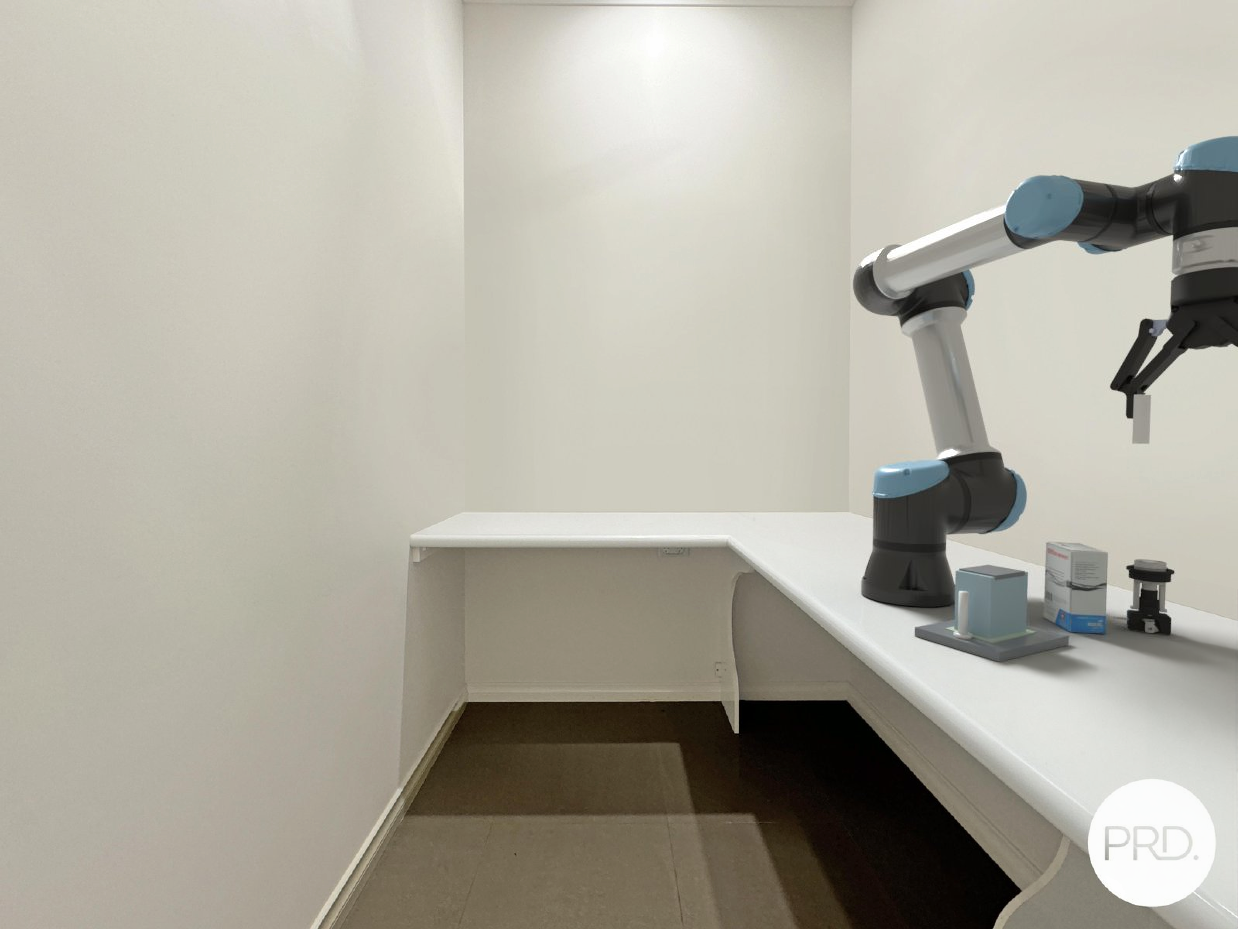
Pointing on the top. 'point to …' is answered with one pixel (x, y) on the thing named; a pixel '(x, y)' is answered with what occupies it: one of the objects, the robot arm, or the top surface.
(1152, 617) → the push button
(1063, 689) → the top surface
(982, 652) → the pin tray
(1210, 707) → the top surface
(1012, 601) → the block
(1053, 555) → the ink box
